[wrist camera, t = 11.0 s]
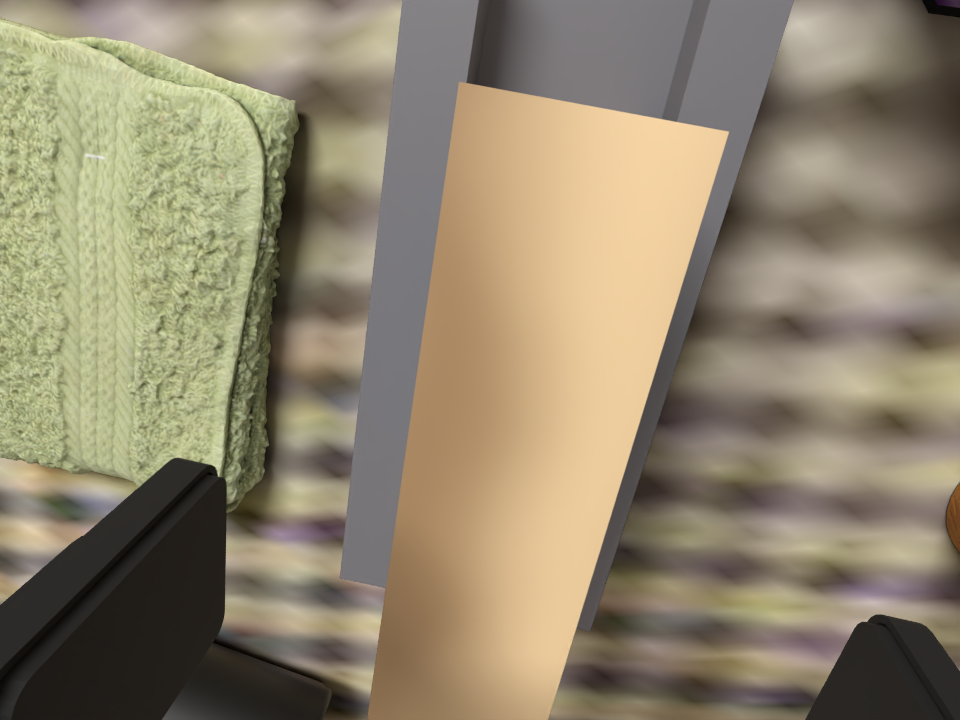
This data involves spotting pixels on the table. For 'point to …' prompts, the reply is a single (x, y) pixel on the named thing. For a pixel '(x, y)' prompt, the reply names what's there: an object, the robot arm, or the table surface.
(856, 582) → the table surface
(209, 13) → the table surface
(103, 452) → the washcloth
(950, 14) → the potion bottle
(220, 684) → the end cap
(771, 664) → the table surface
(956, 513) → the disposable coffee cup
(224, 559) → the robot arm
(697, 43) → the picture stand
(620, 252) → the wooden picture frame
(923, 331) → the table surface
